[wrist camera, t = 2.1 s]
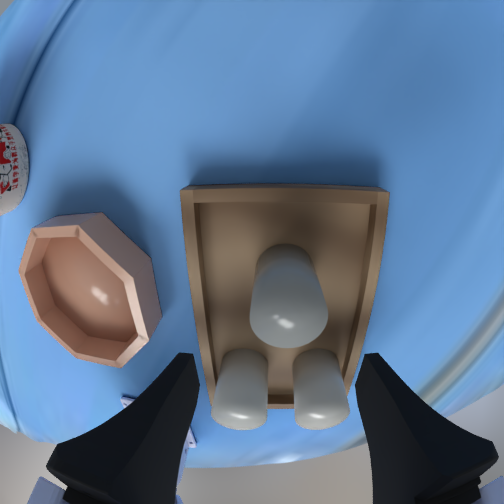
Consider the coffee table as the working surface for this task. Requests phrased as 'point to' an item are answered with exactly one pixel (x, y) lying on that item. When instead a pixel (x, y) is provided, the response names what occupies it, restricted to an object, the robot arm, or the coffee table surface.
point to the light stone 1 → (241, 390)
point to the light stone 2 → (319, 390)
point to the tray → (265, 236)
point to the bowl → (90, 287)
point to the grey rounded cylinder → (287, 298)
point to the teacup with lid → (12, 168)
